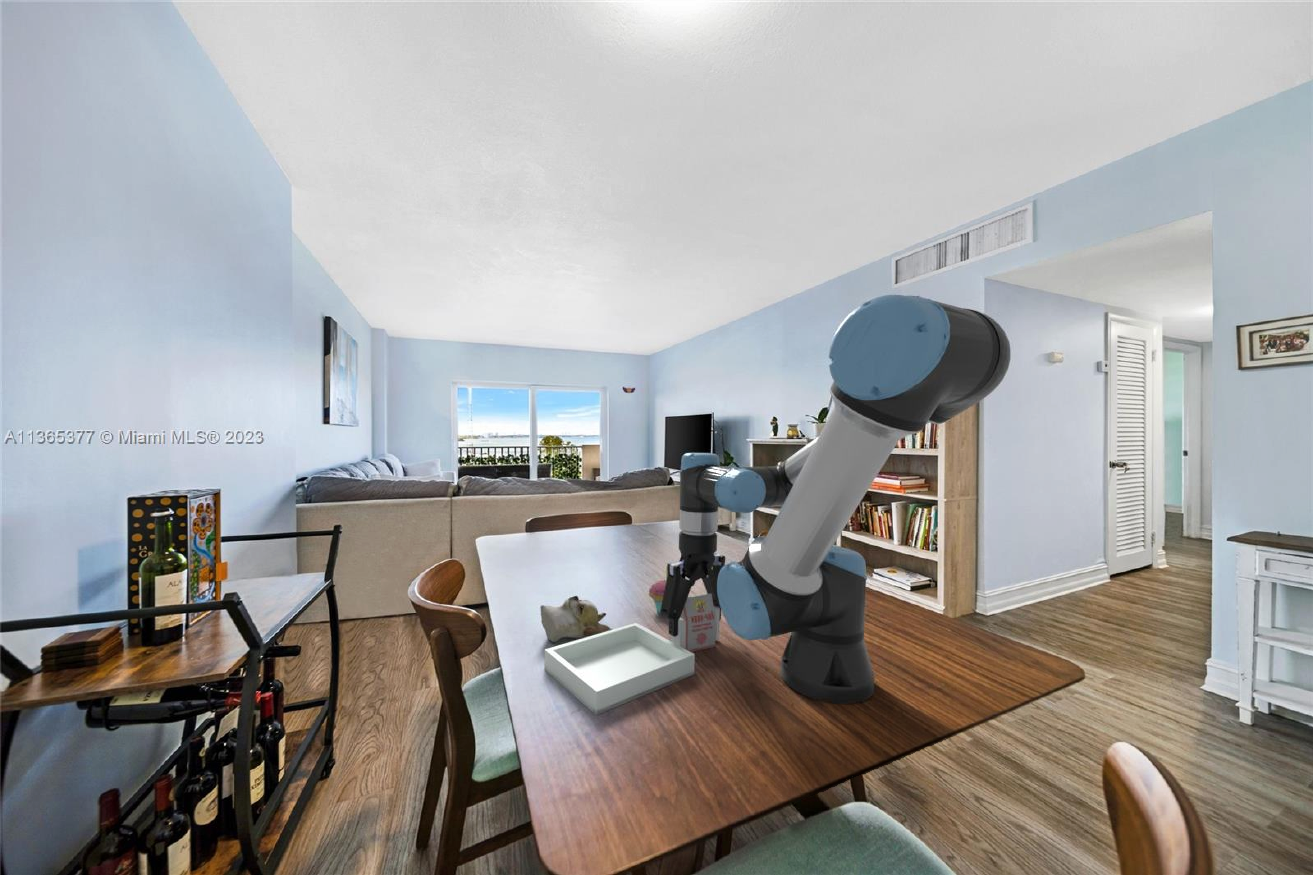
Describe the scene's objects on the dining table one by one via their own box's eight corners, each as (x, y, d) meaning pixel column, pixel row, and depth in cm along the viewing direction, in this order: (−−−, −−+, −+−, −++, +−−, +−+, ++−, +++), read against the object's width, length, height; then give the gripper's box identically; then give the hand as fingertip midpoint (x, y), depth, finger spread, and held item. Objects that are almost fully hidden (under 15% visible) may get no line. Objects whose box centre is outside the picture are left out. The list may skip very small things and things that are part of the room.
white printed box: (676, 645, 95) (677, 594, 95) (705, 639, 98) (706, 590, 98) (685, 653, 92) (686, 601, 92) (715, 646, 95) (716, 596, 95)
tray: (694, 674, 84) (694, 654, 84) (596, 715, 71) (596, 691, 71) (635, 640, 97) (636, 622, 97) (544, 669, 84) (544, 649, 84)
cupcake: (685, 619, 108) (687, 566, 108) (648, 618, 109) (649, 565, 108) (684, 605, 117) (685, 556, 117) (649, 604, 117) (650, 555, 117)
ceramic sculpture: (537, 588, 100) (607, 586, 106) (534, 630, 100) (604, 625, 106) (544, 607, 90) (621, 603, 96) (541, 653, 91) (617, 647, 96)
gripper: (722, 522, 105) (719, 624, 105) (642, 534, 91) (639, 652, 91) (749, 528, 99) (746, 636, 99) (668, 542, 85) (665, 668, 85)
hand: (695, 644), depth 95 cm, fingers open, 9 cm apart
